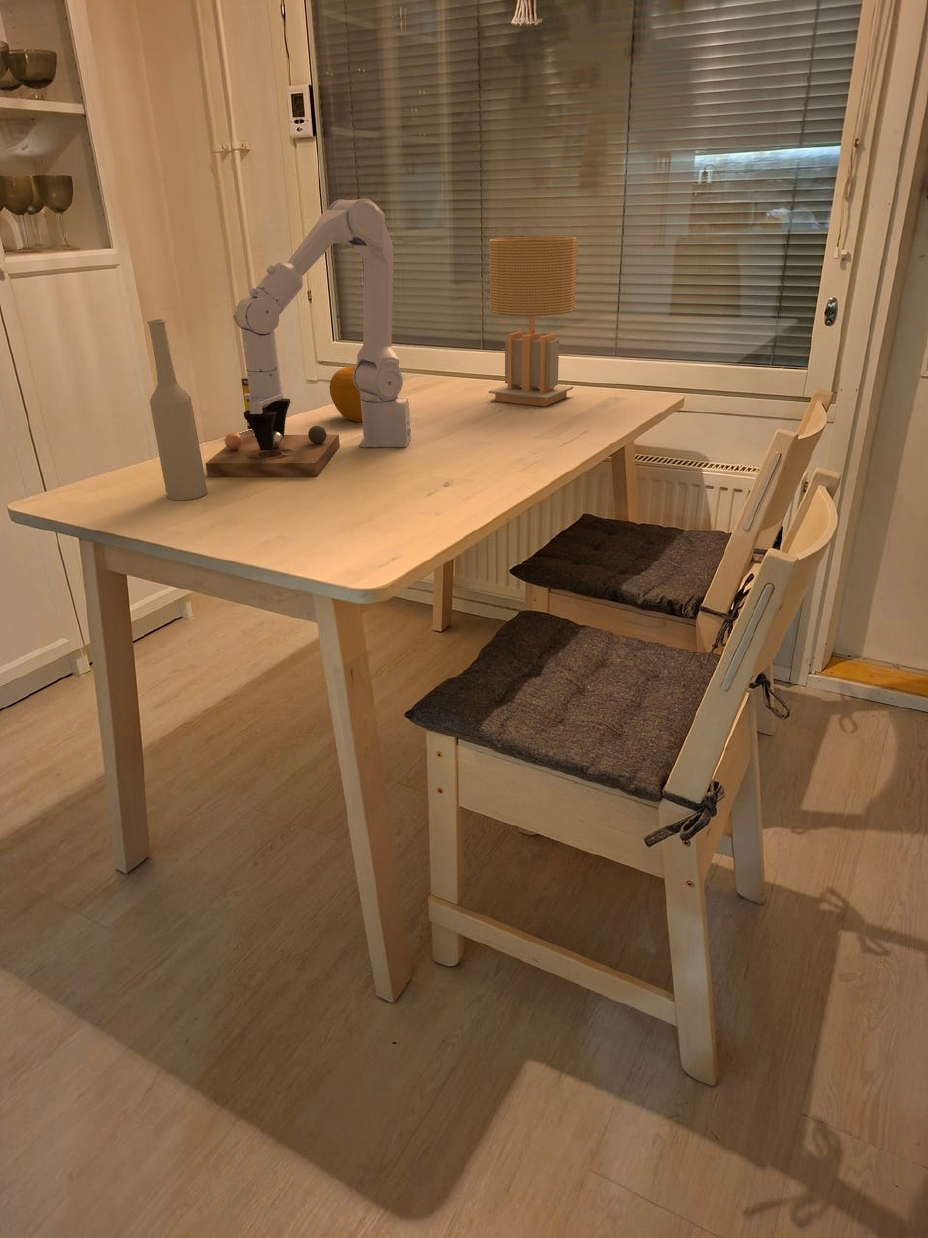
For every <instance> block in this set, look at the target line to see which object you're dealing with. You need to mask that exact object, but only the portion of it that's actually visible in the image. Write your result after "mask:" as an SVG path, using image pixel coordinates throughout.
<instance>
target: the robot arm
mask: <svg viewBox="0 0 928 1238" xmlns="http://www.w3.org/2000/svg"><path fill="white" fill-rule="evenodd" d="M385 221H386V214H385V213H384V212H383V210H382V209H381V208H379V206H378V205H377V204H376V203H375V202H374V201H372V200H370V199H368V198H359V199H351V200H350V199H349V200H348V199H347V200H346V199H337V200H335V201H333V202H332V203H331V204H330V206H329V207H328V209H326V210H325V211H324V212H322V213H321V214H320V217H319V218H318V220H317V221H316V223H315V225H314V226H313V228H311V230H310V231H309V232H308V234H307V236H305V238H304V239H303V241H302V242H301V243H300V244H299V246H298V248H297V249H296V250H295V252H293V254H292V255H291V257H290V258H289V259H288V261H287V262H277V263H276V264H274V265H272V264H270V265H269V266H268V267H267V268H266V269H265V271H266V272H267V274H266V275H265V277H264V278H263V279H262V280H261V281H260V283H258V284H257V286H256V287H252V288H251V289H250V290H249V294H250V296H247V297H244V298H243V299H241V300H239V302H238V303H237V305H236V308H235V310H236V311H235V310H234V311H235V312H234V313H235V314H233V319H234V321H235V324H236V326H237V327H238V328H239V329H240V331H241V338H242V349H243V353H244V354H243V355H244V361H245V369H246V377H248V385H249V392H250V393H246V394H245V395H244V397H243V400H244V399H249V400H250V402H249V409H250V410H246V411H245V410H244V412H243V417H244V419H245V420H246V423H247V422H248V423H249V425H250V426H251V428H252V429H251V430H252V432H253V435H255V437H256V440H257V442H258V445H259V447H260V450H272V449H273V431H277V432H279V433H280V434H281V435H282V437H283V438H284V435H285V431H286V421H287V420H286V418H287V415H288V414H287V413H288V411H289V410H288V409H289V408H290V404H291V399H290V398H284V391H283V385H282V382H281V373H280V367H279V365H280V364H279V358H278V357H279V356H278V348H277V341H276V333H275V329H277V328H278V327H279V322H280V315H281V314H282V313H283V311H284V310H285V309H286V308H287V307H288V305H289V304H290V303H291V302H292V301H293V300H294V299H295V297H296V296H297V294H299V293H300V292H301V290H302V289H303V285H304V281H303V276H304V275H305V274H306V273H307V272H308V271H309V270H310V268H312V267H313V266H314V265H315V263H316V262H317V261H319V259H320V258H321V257H322V256H323V255H324V254H325V253H326V252H327V251H328V249H330V247H332V246H333V245H334V244H340V243H344V242H347V243H349V245H351V246H353V248H354V249H356V251H357V252H358V253H359V254H360V255H361V256H362V257H363V319H362V320H363V322H362V323H363V324H362V325H363V329H362V331H363V333H362V334H363V336H362V337H363V341H362V342H363V344H362V345H363V346H362V347H361V349H360V350H359V352H358V353H357V355H356V356H357V357H356V358H357V359H356V365H355V366H356V367H355V369H354V372H353V382H354V384H355V386H356V388H357V389H358V390H360V398H361V411H362V422H361V423H362V435H363V437H362V439H361V440H360V442H359V444H358V446H359V447H360V448H402V447H403V448H406V447H407V446H408V444H409V442H410V440H411V438H412V435H411V434H412V433H411V419H410V416H411V415H410V403H409V400H408V398H405V397H399V396H398V395H399V394H400V393H401V391H402V389H403V385H404V381H403V379H404V378H403V376H402V373H401V370H400V360H399V357H398V356H397V355H396V352H395V351H394V349H393V346H392V343H393V341H392V340H393V339H392V338H393V336H392V335H393V292H394V253H395V252H394V251H395V250H394V244H393V242H392V240H391V237H390V234H389V232H388V228H387V226H386V222H385Z"/></svg>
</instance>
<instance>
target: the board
mask: <svg viewBox="0 0 928 1238" xmlns="http://www.w3.org/2000/svg"><path fill="white" fill-rule="evenodd" d="M239 435H240V436H241V438H242V441H243V442H242V446H241V447H240V448H239V449H237V450H231V449H229V448H228V447H227V446H226V445H225V447H223V448H222V449H221V450H220V451H218V452H217V453H215V455H214V456H213V457H211V458H210V459H209V460H208V461H206V462H205V463H204V464H205V469H206V474H207V477H208V478H243V477H244V478H246V477H247V478H260V477H261V478H265V477H266V478H273V477H274V478H276V477H277V478H286V477H288V478H290V477H291V478H292V477H293V478H302V477H303V478H305V477H306V478H307V477H308V478H310V477H311V478H312V477H313V478H316V477H318V476H319V475H320V473H321V472H322V471H323V470H324V468H325V467H326V466H327V465H328V463H329V462H330V461H331V459H332V458H333V457H334V455H335V454H336V453H337V451H338V450H339V449H340V447H341V443H340V435H339V434H335V433H334V434H331V433H330V434H327V433H326V439H325V441H324V442H323V443H321V444H315V443H313V442H311V441H310V439H309V436H308V434H284V438H283V443H282V445H281V446H280V447H278V448H273V449H272V450H260V447H259V445H258V442H257V440H256V437H255V434H239Z"/></svg>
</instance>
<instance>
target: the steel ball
mask: <svg viewBox="0 0 928 1238" xmlns="http://www.w3.org/2000/svg"><path fill="white" fill-rule="evenodd" d="M282 443H283V437H282V435H281V434H280V433H279V432H277V431H273V448H278V447H280V446H281V445H282Z"/></svg>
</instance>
